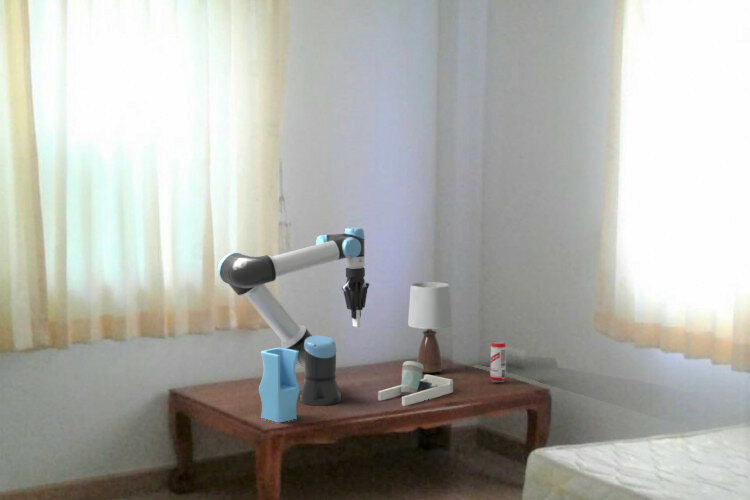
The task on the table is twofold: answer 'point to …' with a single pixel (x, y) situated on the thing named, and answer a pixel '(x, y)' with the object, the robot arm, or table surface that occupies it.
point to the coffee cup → (411, 377)
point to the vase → (279, 385)
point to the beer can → (498, 361)
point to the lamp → (429, 319)
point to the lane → (443, 388)
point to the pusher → (425, 386)
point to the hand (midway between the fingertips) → (356, 326)
